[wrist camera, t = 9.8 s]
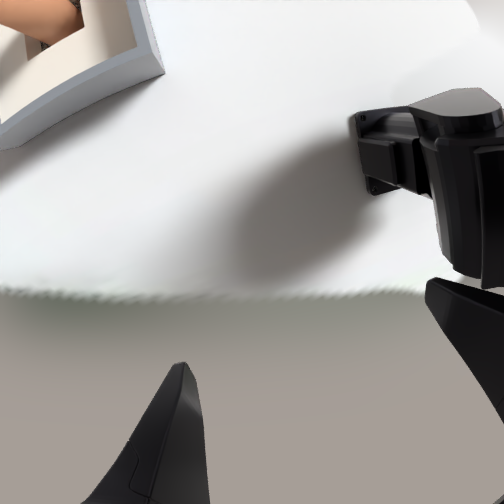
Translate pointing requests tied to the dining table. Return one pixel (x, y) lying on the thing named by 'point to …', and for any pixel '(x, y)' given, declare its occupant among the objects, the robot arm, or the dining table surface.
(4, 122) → the box
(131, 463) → the robot arm
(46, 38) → the peg
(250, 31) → the dining table surface
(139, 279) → the dining table surface
